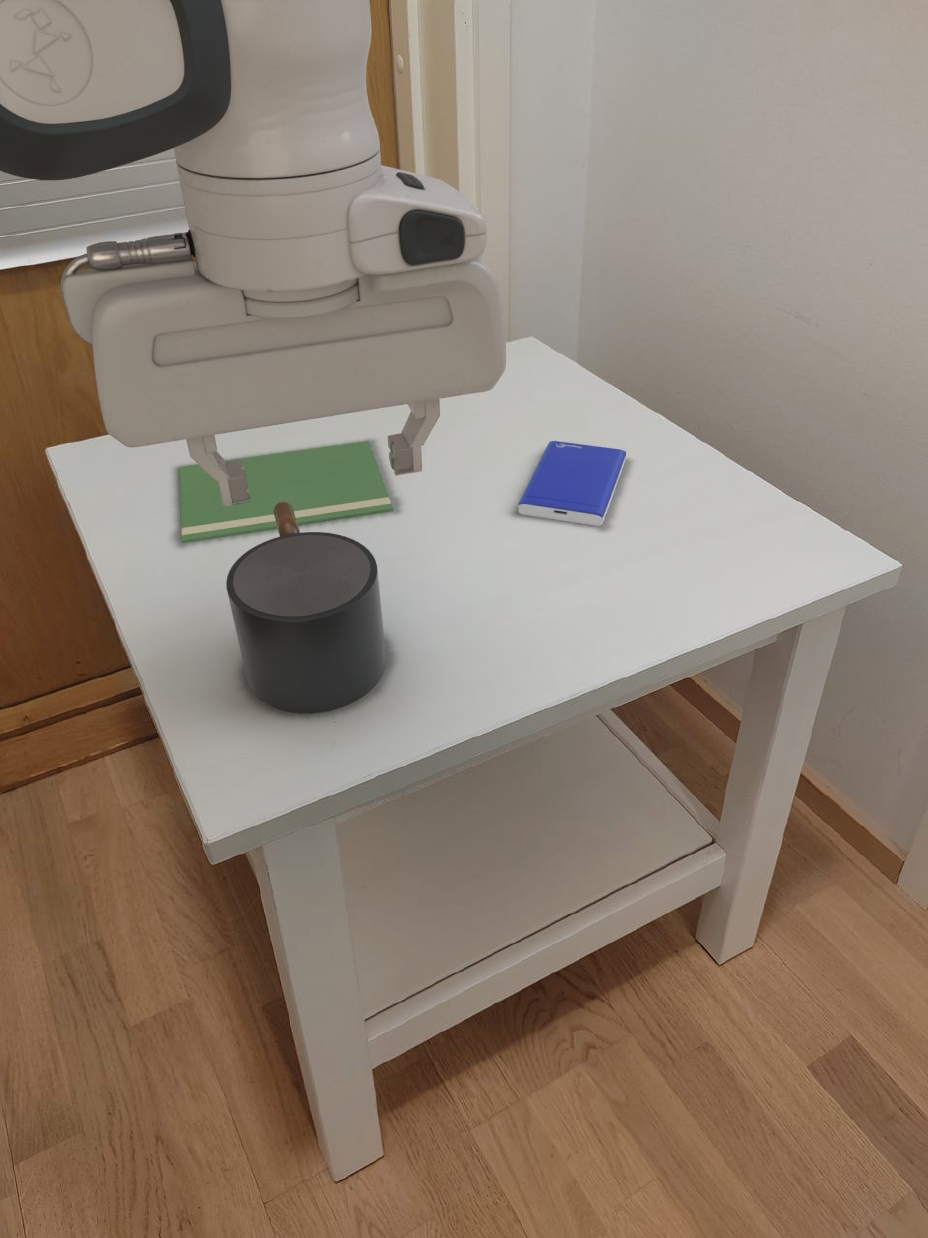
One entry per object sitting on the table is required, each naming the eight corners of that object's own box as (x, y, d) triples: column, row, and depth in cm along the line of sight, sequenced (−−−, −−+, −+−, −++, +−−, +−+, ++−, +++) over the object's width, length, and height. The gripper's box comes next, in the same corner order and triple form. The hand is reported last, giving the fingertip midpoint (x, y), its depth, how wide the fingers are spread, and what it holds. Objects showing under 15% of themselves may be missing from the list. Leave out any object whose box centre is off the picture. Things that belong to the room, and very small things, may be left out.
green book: (182, 543, 89) (181, 539, 89) (179, 470, 100) (179, 466, 99) (393, 511, 93) (392, 507, 92) (368, 443, 103) (368, 439, 103)
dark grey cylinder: (400, 696, 73) (392, 603, 67) (255, 728, 70) (234, 634, 65) (356, 571, 85) (346, 484, 79) (231, 595, 83) (212, 506, 77)
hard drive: (549, 439, 100) (518, 500, 91) (626, 449, 98) (603, 513, 89) (548, 452, 101) (518, 514, 92) (625, 462, 99) (602, 527, 90)
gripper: (46, 272, 39) (128, 551, 48) (519, 216, 43) (515, 480, 52) (50, 226, 43) (124, 488, 52) (476, 180, 48) (479, 428, 57)
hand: (322, 483), depth 52 cm, fingers open, 8 cm apart
